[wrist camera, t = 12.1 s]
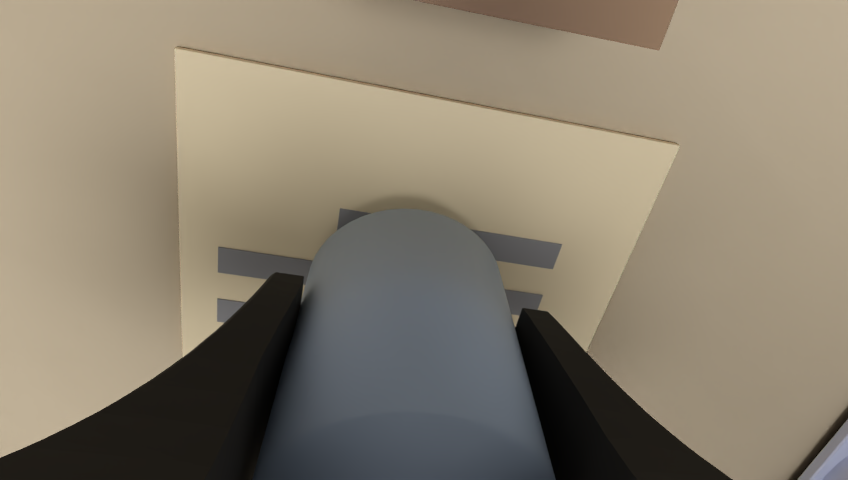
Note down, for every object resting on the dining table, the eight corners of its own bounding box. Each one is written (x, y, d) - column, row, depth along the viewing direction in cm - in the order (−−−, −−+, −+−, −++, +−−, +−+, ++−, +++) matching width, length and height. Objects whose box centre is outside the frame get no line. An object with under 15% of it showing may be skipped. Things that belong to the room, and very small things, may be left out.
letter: (676, 143, 13) (680, 146, 13) (560, 399, 18) (562, 405, 17) (177, 46, 12) (173, 48, 12) (184, 353, 16) (181, 358, 16)
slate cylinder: (520, 219, 13) (599, 423, 8) (481, 372, 15) (521, 602, 10) (308, 198, 12) (238, 399, 7) (305, 358, 15) (252, 593, 10)
